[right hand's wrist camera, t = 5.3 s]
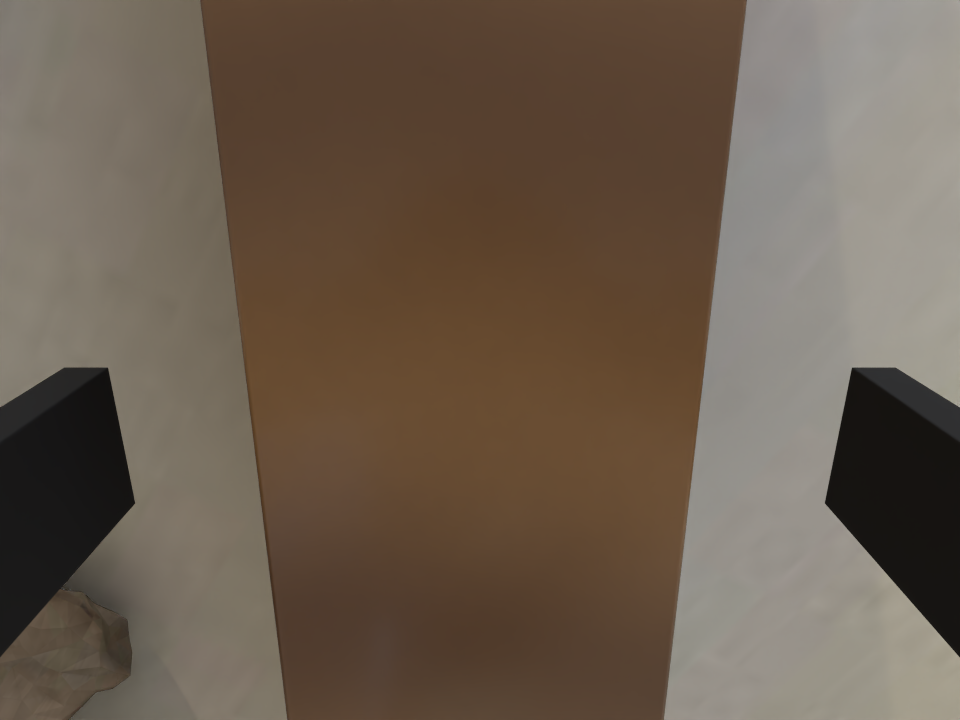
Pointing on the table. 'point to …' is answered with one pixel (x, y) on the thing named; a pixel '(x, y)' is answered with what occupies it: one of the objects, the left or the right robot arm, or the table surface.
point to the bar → (474, 337)
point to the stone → (63, 659)
